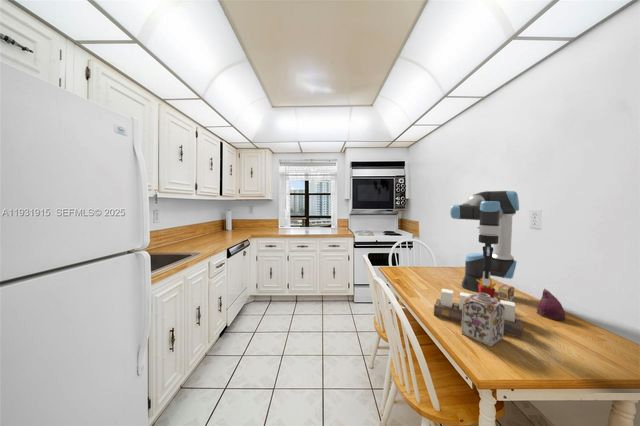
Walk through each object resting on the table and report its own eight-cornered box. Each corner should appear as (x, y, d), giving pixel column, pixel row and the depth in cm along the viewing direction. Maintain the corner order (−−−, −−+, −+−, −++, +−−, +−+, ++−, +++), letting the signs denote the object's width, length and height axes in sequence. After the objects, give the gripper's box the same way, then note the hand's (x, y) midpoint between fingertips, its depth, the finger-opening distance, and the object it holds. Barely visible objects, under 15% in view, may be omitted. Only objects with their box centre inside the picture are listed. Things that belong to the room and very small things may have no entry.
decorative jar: (460, 333, 103) (462, 292, 102) (473, 326, 109) (475, 287, 109) (492, 347, 93) (494, 302, 92) (504, 339, 99) (506, 296, 99)
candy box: (506, 320, 115) (507, 289, 115) (495, 317, 119) (497, 286, 118) (513, 316, 120) (514, 286, 119) (503, 313, 124) (504, 283, 123)
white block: (459, 305, 120) (460, 292, 119) (471, 308, 117) (472, 294, 117) (458, 309, 116) (459, 295, 115) (471, 312, 113) (471, 297, 112)
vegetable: (538, 322, 121) (529, 293, 122) (538, 313, 129) (530, 285, 129) (567, 324, 114) (558, 293, 115) (565, 314, 122) (557, 285, 122)
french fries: (494, 307, 131) (496, 280, 130) (477, 304, 133) (478, 278, 133) (489, 301, 139) (490, 275, 138) (472, 299, 142) (474, 273, 141)
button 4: (499, 314, 111) (500, 299, 111) (513, 317, 108) (514, 302, 108) (500, 318, 107) (501, 303, 106) (514, 322, 104) (515, 306, 104)
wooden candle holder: (436, 308, 128) (437, 298, 128) (519, 327, 109) (519, 316, 109) (433, 315, 119) (434, 305, 119) (522, 337, 100) (523, 326, 100)
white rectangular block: (441, 301, 124) (442, 288, 124) (452, 304, 121) (453, 290, 121) (440, 305, 120) (441, 291, 120) (451, 307, 117) (452, 293, 117)
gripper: (478, 232, 118) (476, 279, 119) (478, 235, 107) (476, 287, 108) (497, 233, 114) (495, 282, 115) (499, 236, 103) (496, 290, 104)
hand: (486, 284), depth 111 cm, fingers closed
